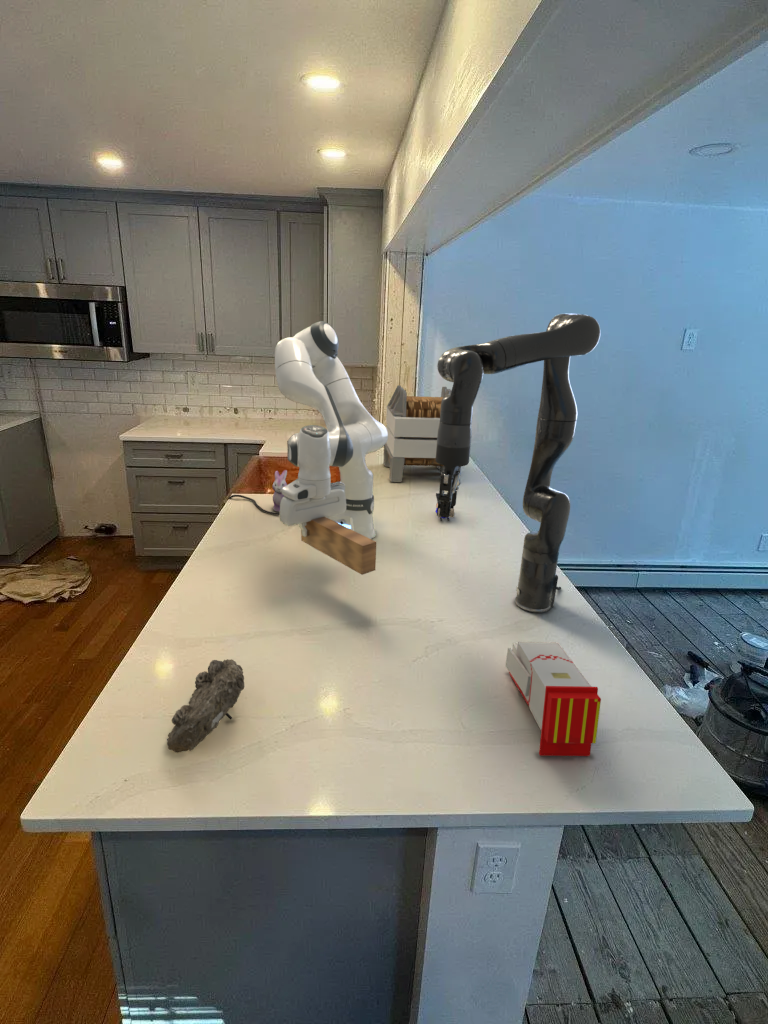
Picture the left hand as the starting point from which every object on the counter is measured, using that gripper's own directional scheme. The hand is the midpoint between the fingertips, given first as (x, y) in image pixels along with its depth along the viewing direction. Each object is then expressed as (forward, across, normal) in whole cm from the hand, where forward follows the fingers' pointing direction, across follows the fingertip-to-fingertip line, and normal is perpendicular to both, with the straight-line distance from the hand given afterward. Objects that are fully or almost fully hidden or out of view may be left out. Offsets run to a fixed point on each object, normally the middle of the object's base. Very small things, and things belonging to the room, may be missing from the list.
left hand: (314, 533), depth 159 cm
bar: (+3, 0, +10) cm, 11 cm away
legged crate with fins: (+15, -106, -64) cm, 124 cm away
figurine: (+15, -25, -57) cm, 64 cm away
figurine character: (+15, -70, -14) cm, 73 cm away
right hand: (-17, -10, +40) cm, 44 cm away
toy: (+14, -4, +74) cm, 76 cm away
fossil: (+14, +48, +36) cm, 62 cm away
